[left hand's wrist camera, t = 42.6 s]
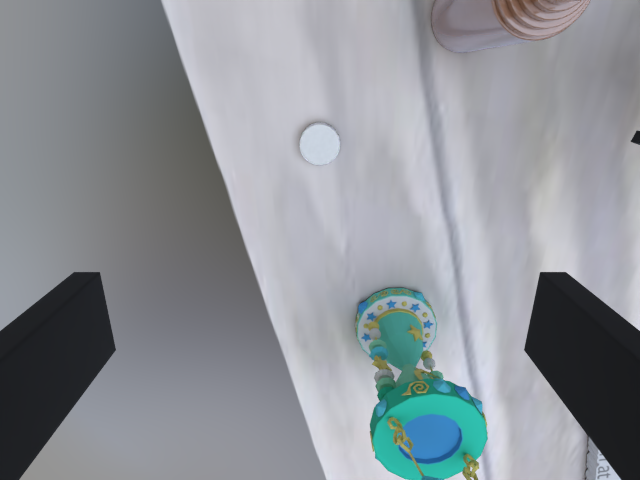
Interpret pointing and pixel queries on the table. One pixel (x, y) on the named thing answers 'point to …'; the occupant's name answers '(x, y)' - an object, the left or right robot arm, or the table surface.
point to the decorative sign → (598, 465)
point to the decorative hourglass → (416, 393)
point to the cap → (319, 143)
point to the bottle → (500, 21)
